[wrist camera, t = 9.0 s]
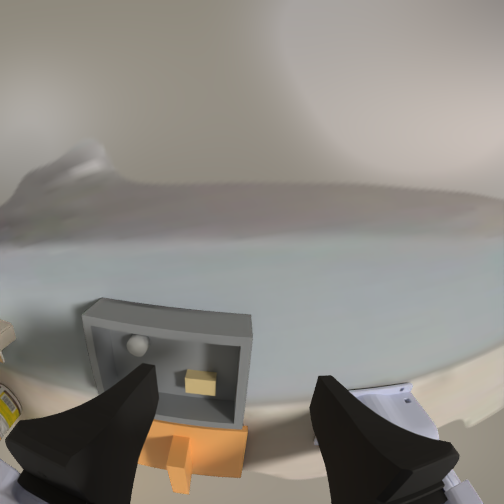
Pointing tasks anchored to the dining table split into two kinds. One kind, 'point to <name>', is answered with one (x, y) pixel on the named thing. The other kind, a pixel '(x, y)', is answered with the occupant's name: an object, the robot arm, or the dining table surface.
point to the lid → (193, 451)
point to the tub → (175, 357)
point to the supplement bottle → (8, 410)
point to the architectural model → (5, 336)
